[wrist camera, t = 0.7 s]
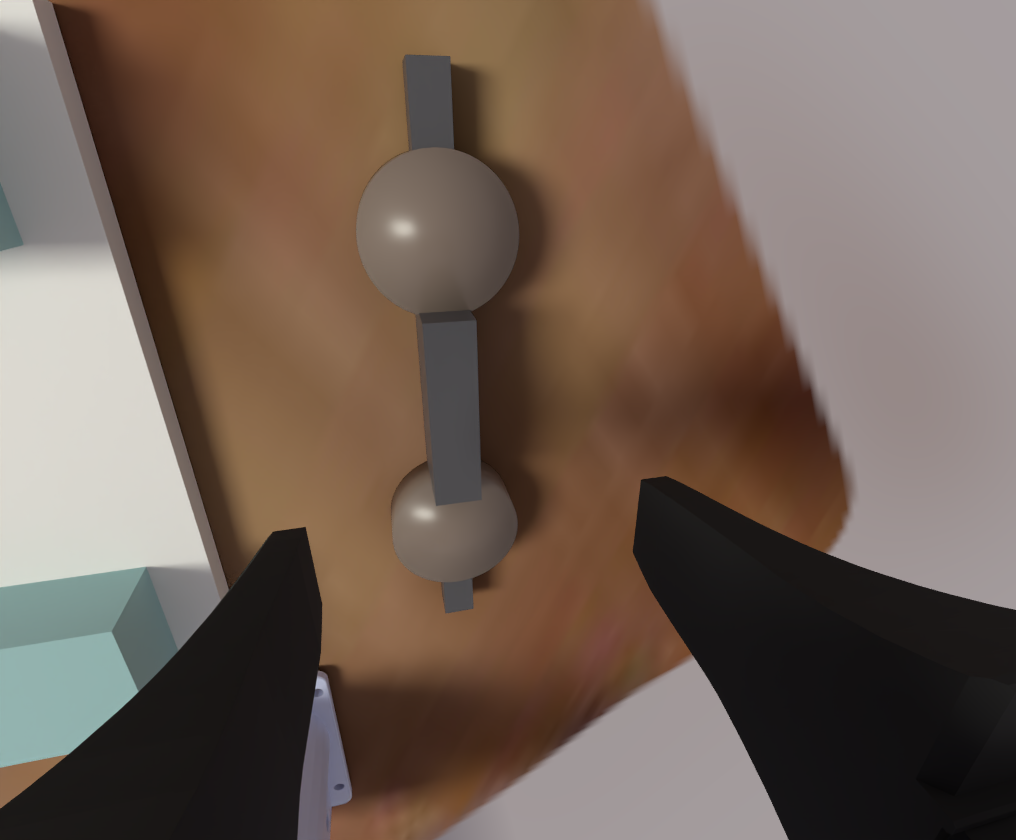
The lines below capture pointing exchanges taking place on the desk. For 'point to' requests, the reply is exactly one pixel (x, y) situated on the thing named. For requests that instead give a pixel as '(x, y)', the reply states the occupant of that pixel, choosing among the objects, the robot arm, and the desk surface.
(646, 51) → the desk surface
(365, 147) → the desk surface
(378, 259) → the rod with two spheres
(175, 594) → the stand
